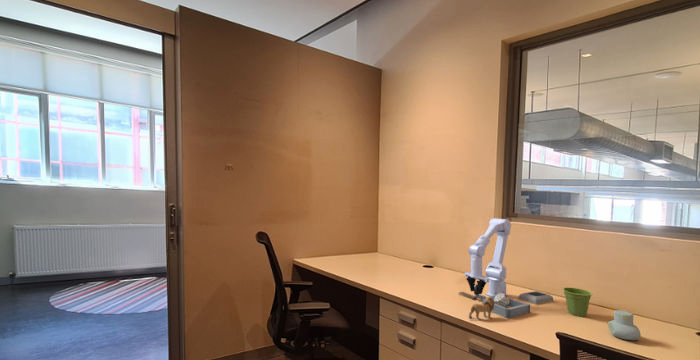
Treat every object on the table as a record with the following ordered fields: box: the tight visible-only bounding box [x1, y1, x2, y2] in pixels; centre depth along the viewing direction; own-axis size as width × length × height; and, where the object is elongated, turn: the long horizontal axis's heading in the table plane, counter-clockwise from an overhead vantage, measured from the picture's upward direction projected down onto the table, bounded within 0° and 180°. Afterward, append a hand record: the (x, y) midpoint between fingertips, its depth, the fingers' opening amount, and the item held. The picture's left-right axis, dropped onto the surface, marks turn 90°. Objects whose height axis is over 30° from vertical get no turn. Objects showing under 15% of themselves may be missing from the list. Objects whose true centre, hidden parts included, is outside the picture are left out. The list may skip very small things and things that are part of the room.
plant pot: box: [562, 287, 593, 318], centre depth 151 cm, size 12×12×11 cm
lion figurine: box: [468, 296, 494, 321], centre depth 143 cm, size 15×5×9 cm, turn 116°
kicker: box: [473, 283, 495, 304], centre depth 165 cm, size 11×11×8 cm
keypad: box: [518, 290, 554, 305], centre depth 172 cm, size 10×4×15 cm
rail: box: [458, 291, 478, 301], centre depth 173 cm, size 3×10×1 cm, turn 29°
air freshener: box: [607, 309, 642, 341], centre depth 127 cm, size 11×8×10 cm
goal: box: [481, 297, 531, 319], centre depth 153 cm, size 17×14×4 cm
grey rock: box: [494, 292, 512, 308], centre depth 156 cm, size 9×8×10 cm
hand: (476, 292), depth 168 cm, fingers open, 4 cm apart
